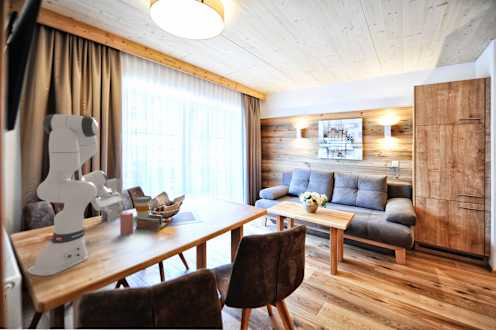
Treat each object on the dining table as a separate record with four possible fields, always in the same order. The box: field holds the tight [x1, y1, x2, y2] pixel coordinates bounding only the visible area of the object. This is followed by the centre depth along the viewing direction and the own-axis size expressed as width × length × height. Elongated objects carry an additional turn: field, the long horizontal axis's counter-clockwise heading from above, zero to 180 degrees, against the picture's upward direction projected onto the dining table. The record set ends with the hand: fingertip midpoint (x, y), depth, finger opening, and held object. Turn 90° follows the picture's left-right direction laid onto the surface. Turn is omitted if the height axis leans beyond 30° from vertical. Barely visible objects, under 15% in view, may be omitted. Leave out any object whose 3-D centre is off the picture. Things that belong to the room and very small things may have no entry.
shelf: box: [135, 217, 168, 233], centre depth 150 cm, size 12×16×8 cm
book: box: [119, 211, 134, 236], centre depth 139 cm, size 4×6×13 cm, turn 80°
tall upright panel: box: [100, 178, 124, 223], centre depth 165 cm, size 14×6×30 cm, turn 168°
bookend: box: [147, 213, 163, 224], centre depth 154 cm, size 1×10×6 cm, turn 80°
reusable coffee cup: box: [134, 195, 153, 218], centre depth 174 cm, size 13×13×15 cm
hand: (116, 210), depth 140 cm, fingers open, 8 cm apart
